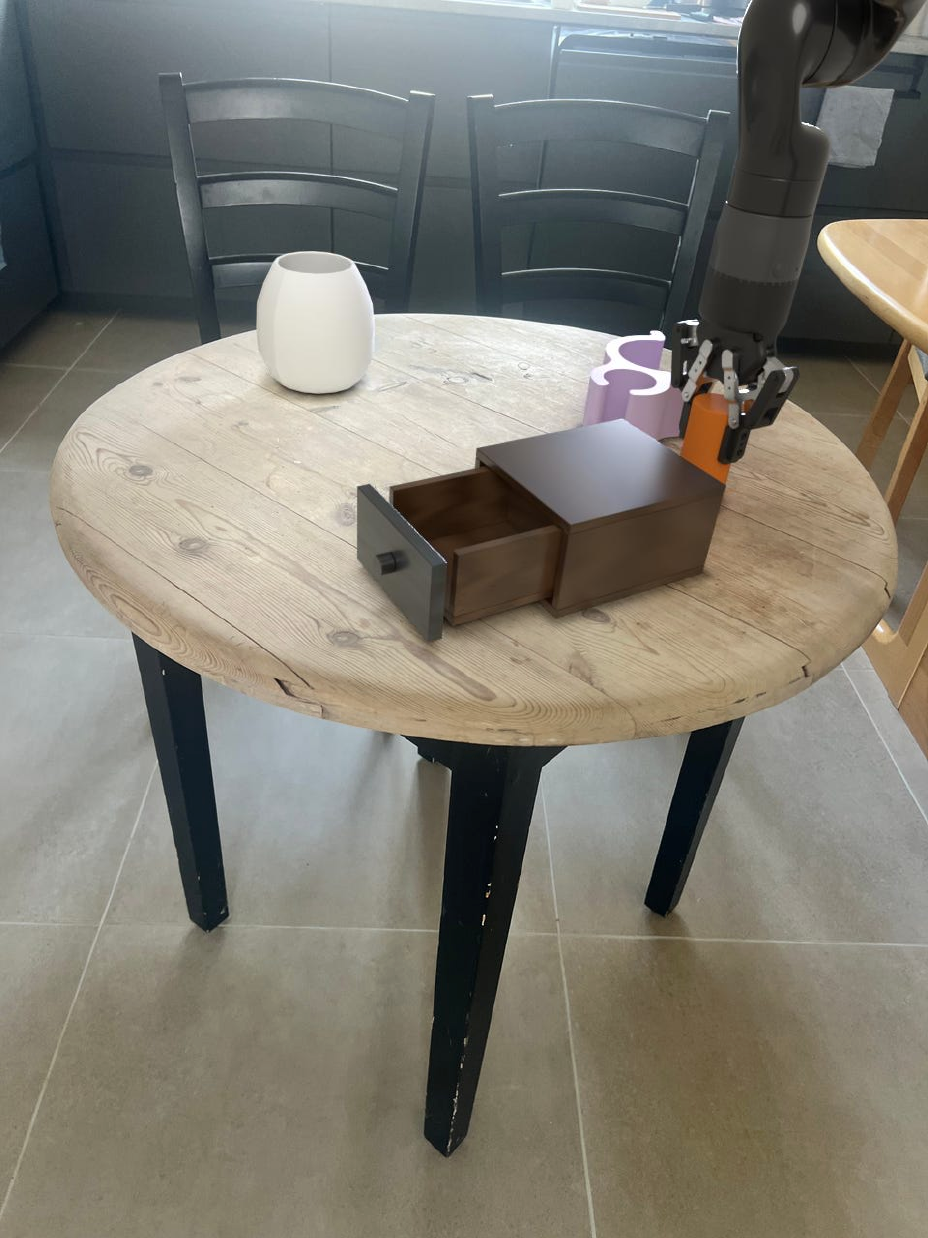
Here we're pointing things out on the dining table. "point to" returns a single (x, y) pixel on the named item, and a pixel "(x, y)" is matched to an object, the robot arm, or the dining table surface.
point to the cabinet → (612, 509)
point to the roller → (707, 434)
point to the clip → (635, 388)
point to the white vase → (315, 322)
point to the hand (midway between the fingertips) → (707, 448)
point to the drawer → (456, 547)
